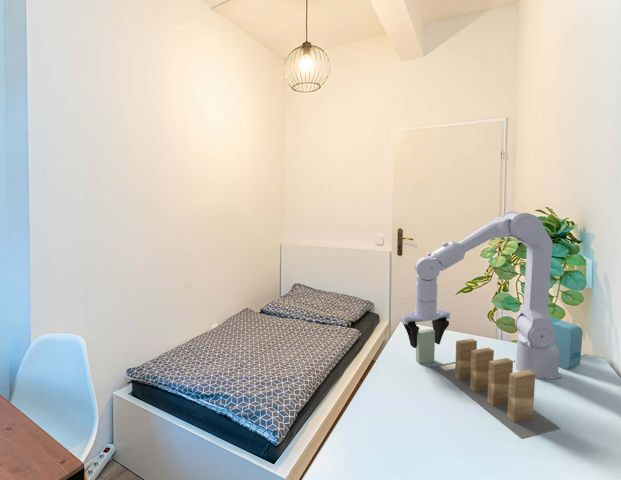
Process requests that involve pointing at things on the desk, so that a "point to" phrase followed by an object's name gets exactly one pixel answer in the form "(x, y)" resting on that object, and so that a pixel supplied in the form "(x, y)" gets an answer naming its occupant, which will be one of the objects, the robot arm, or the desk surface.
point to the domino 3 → (499, 381)
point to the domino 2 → (480, 368)
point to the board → (499, 407)
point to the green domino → (425, 346)
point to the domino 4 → (521, 395)
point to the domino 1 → (464, 358)
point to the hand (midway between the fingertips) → (425, 344)
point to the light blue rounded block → (567, 343)
